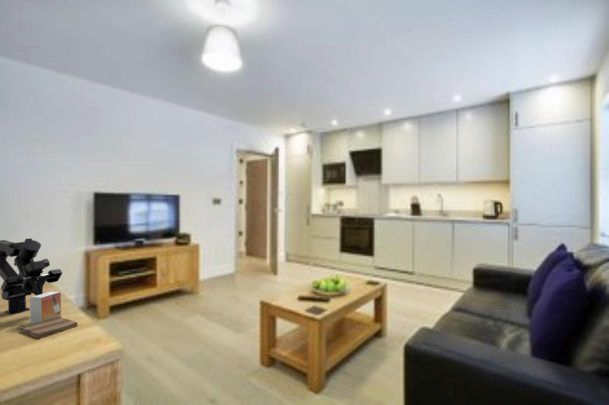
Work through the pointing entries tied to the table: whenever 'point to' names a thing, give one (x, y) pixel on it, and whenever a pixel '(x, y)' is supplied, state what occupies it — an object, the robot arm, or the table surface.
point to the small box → (45, 306)
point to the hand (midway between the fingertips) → (41, 296)
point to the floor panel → (48, 327)
